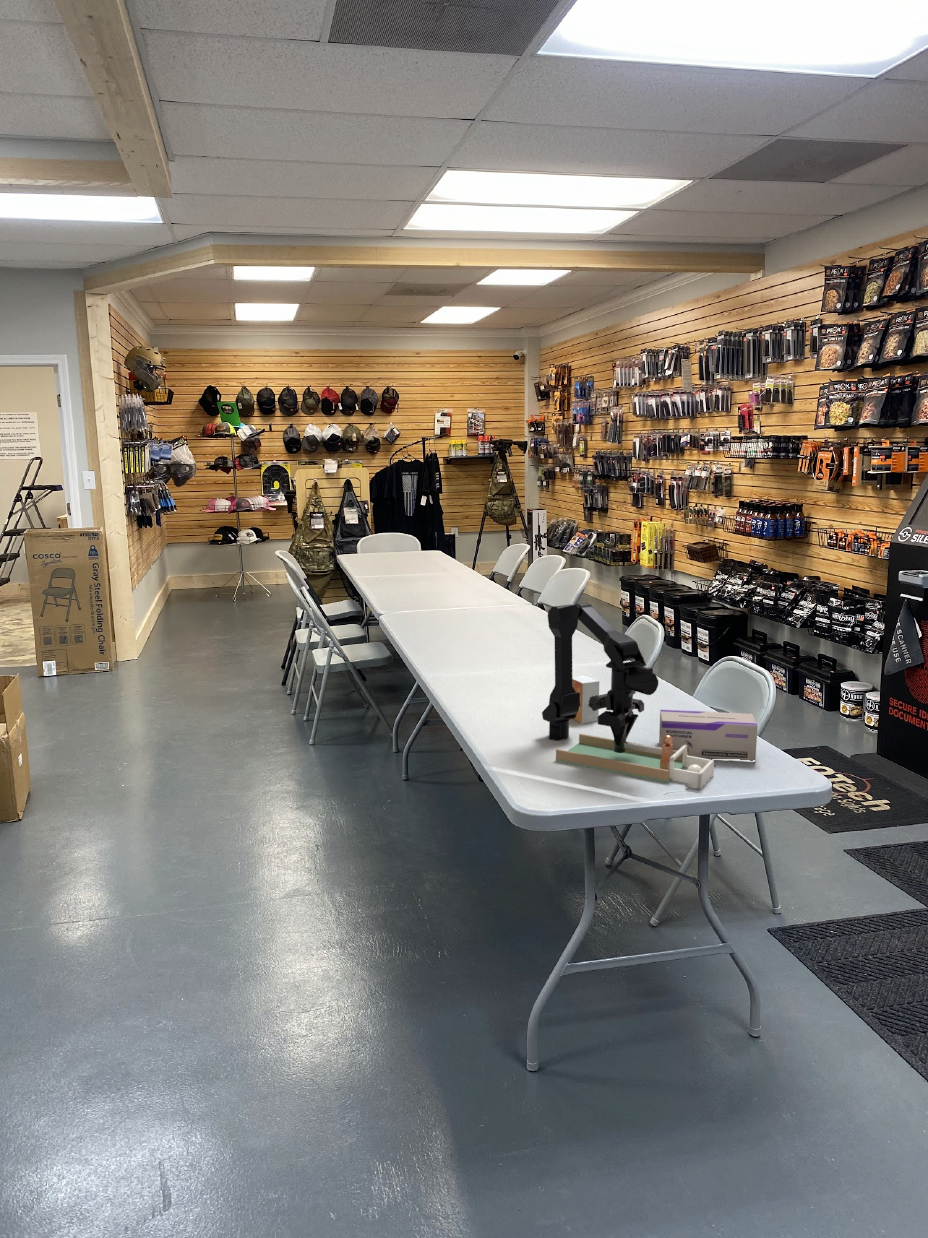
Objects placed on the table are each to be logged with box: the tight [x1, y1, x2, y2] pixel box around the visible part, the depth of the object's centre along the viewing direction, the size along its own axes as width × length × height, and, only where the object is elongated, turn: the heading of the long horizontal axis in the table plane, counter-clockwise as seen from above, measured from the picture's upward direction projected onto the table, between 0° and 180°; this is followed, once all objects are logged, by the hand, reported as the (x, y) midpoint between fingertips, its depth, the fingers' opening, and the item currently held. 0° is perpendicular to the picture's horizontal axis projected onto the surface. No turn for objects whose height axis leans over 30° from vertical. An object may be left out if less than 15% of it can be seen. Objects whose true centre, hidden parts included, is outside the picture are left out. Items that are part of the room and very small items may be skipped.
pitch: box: [555, 733, 688, 784], centre depth 236 cm, size 16×31×4 cm, turn 59°
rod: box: [613, 731, 673, 770], centre depth 232 cm, size 5×16×9 cm, turn 59°
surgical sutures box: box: [658, 709, 758, 761], centre depth 245 cm, size 25×11×11 cm, turn 80°
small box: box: [572, 674, 600, 724], centre depth 276 cm, size 8×6×13 cm
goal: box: [669, 745, 715, 790], centre depth 226 cm, size 12×8×7 cm
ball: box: [686, 764, 702, 773], centre depth 226 cm, size 4×4×4 cm
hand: (620, 743), depth 236 cm, fingers closed on rod, 3 cm apart
